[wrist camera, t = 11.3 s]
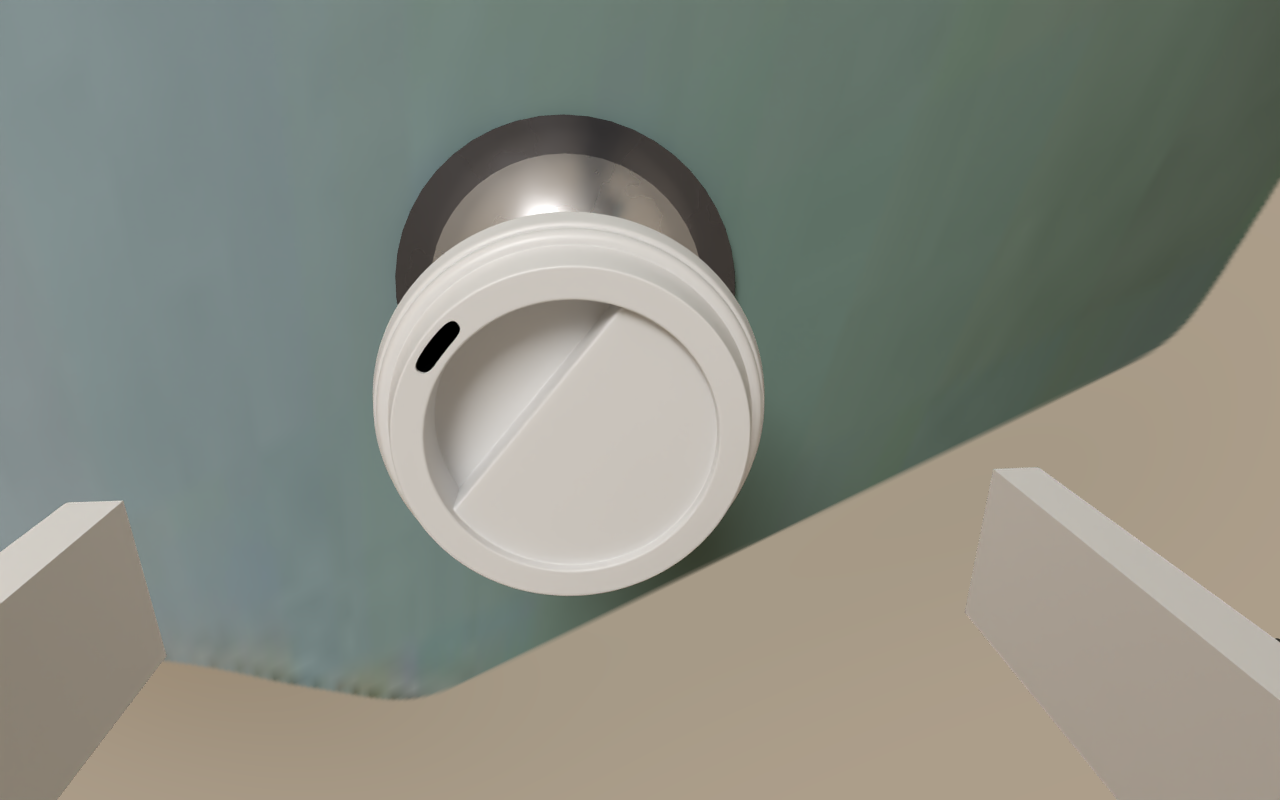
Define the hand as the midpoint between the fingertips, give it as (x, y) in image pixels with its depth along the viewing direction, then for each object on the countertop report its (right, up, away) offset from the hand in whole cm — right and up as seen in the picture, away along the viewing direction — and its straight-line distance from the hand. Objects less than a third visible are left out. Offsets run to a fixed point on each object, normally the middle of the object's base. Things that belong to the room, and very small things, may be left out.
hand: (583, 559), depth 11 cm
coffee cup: (-2, +7, +19) cm, 20 cm away
